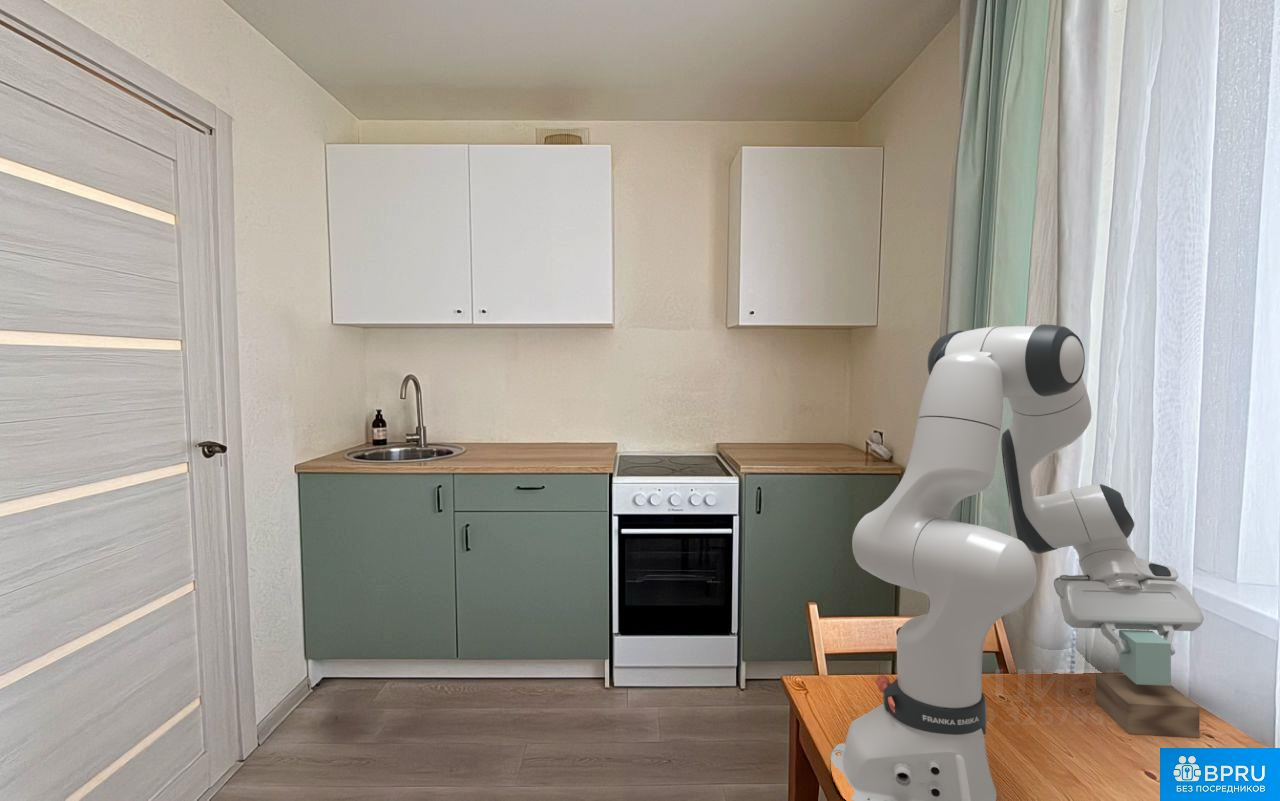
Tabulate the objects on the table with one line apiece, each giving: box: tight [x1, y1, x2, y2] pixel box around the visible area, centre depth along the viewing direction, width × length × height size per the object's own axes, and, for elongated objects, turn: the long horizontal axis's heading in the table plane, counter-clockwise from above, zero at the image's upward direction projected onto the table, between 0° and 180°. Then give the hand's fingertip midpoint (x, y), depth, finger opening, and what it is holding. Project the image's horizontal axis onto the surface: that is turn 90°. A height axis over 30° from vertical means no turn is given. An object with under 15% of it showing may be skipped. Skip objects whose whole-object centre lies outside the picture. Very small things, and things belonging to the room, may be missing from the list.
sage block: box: [1118, 629, 1172, 686], centre depth 106 cm, size 5×5×7 cm
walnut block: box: [1095, 673, 1200, 738], centre depth 106 cm, size 10×10×5 cm
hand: (1146, 653), depth 105 cm, fingers closed on sage block, 5 cm apart
